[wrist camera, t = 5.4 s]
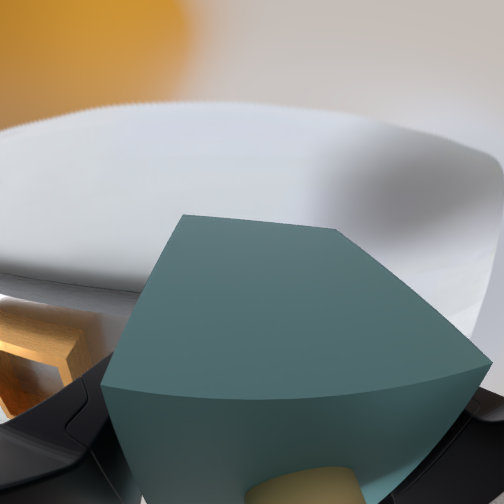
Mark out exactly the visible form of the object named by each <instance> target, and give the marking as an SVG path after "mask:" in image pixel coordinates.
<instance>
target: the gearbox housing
mask: <svg viewBox="0 0 504 504" xmlns="http://www.w3.org/2000/svg"><path fill="white" fill-rule="evenodd" d="M140 295H141V293H137V292H128V291H119V290H111V289H102V288H94V287H86V286H79V285H72V284H64V283H57V282H51V281H44V280H38V279H31V278H25V277H19V276H14V275H8V274H2V273H0V406H1V408H2V409H3V411H4V413H5V414H6V416H7V418H9V419H12V418H14V417H16V416H18V415H19V414H21V413H23V412H25V411H27V410H28V409H30V408H32V407H34V406H35V405H37V404H39V403H41V402H42V401H44V400H45V399H47V398H49V397H50V396H52V395H54V394H55V393H57V392H58V391H60V390H61V389H63V388H64V387H65V386H67V385H68V384H70V383H71V382H72V381H74V380H75V379H76V378H78V377H81V375H82V374H83V373H85V372H86V371H87V370H89V369H90V368H91V367H93V366H94V365H95V364H97V363H98V362H99V361H101V360H102V359H103V358H105V357H106V356H107V355H109V354H110V353H111V352H113V351H114V350H115V348H116V346H117V344H118V342H119V339H120V337H121V335H122V333H123V331H124V328H125V326H126V324H127V322H128V320H129V318H130V315H131V313H132V311H133V309H134V307H135V305H136V303H137V301H138V299H139V297H140Z"/></svg>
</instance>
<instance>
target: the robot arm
mask: <svg viewBox="0 0 504 504" xmlns="http://www.w3.org/2000/svg"><path fill="white" fill-rule="evenodd" d="M114 351H115V350H114ZM114 351H113V352H111V353H110V354H109V355H107V356H106V357H105V358H103V359H102V360H101V361H99V362H98V363H97V364H95V365H94V366H93V367H91V368H90V369H89V370H87V371H86V372H85V373H83V374H82V375H81V377H78V378H76V379H75V380H74V381H72V382H71V383H70V384H68V385H67V386H65V387H64V388H63V389H61V390H60V391H58V392H57V393H55V394H54V395H52V396H50V397H49V398H47V399H45V400H44V401H42V402H41V403H39V404H37V405H35V406H34V407H32V408H30V409H28V410H27V411H25V412H23V413H21V414H19V415H18V416H16V417H14V418H12V419H11V420H9V421H7V422H5V423H3V424H0V504H140V503H141V497H142V493H141V491H140V489H139V487H138V485H137V483H136V481H135V479H134V477H133V474H132V472H131V470H130V468H129V465H128V463H127V461H126V458H125V456H124V453H123V451H122V448H121V446H120V443H119V440H118V438H117V435H116V432H115V430H114V427H113V424H112V421H111V418H110V415H109V412H108V409H107V406H106V403H105V399H104V396H103V393H102V389H101V386H100V384H101V382H102V379H103V377H104V374H105V372H106V369H107V367H108V365H109V362H110V360H111V358H112V355H113V353H114ZM378 504H504V397H503V396H500V395H498V394H496V393H493V392H491V391H488V390H486V389H484V388H481V387H478V389H477V390H476V392H475V393H474V395H473V396H472V398H471V399H470V401H469V402H468V404H467V405H466V407H465V408H464V410H463V411H462V412H461V414H460V415H459V416H458V418H457V419H456V421H455V422H454V423H453V425H452V426H451V427H450V428H449V430H448V431H447V432H446V433H445V435H444V436H443V437H442V438H441V440H440V441H439V442H438V443H437V444H436V446H435V447H434V448H433V449H432V450H431V451H430V453H429V454H428V455H427V456H426V457H425V458H424V459H423V460H422V461H421V463H420V464H419V465H418V466H417V467H416V468H415V469H414V470H413V471H412V472H411V473H410V474H409V475H408V476H407V477H406V478H405V479H404V480H403V481H402V482H401V483H400V484H399V485H398V486H397V487H396V488H395V489H393V490H392V491H391V492H390V493H389V494H388V495H387V496H386V497H385V498H383V499H382V500H381V501H380V502H379V503H378Z"/></svg>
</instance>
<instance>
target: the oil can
mask: <svg viewBox="0 0 504 504" xmlns="http://www.w3.org/2000/svg"><path fill="white" fill-rule="evenodd" d="M492 363H493V362H492V361H491V360H490V359H489V358H488V357H487V356H486V355H484V354H483V353H482V352H481V351H480V350H479V349H478V348H477V347H476V346H475V345H474V344H473V343H472V342H471V341H470V340H469V339H468V338H467V337H466V336H464V335H463V334H462V333H461V332H460V331H459V330H458V329H457V328H456V327H455V326H454V325H452V324H451V323H450V322H449V321H448V320H447V319H446V318H445V317H444V316H442V315H441V314H440V313H439V312H438V311H437V310H436V309H434V308H433V307H432V306H431V305H430V304H429V303H428V302H426V301H425V300H424V299H423V298H422V297H420V296H419V295H418V294H417V293H416V292H415V291H413V290H412V289H411V288H410V287H409V286H407V285H406V284H405V283H404V282H403V281H401V280H400V279H399V278H398V277H396V276H395V275H394V274H393V273H392V272H390V271H389V270H388V269H387V268H385V267H384V266H383V265H382V264H380V263H379V262H378V261H376V260H375V259H374V258H373V257H371V256H370V255H369V254H368V253H366V252H365V251H364V250H362V249H361V248H360V247H358V246H357V245H356V244H355V243H353V242H352V241H351V240H349V239H348V238H347V237H345V236H344V235H343V234H341V233H340V232H339V231H337V230H336V229H328V228H320V227H311V226H302V225H292V224H283V223H273V222H263V221H252V220H242V219H230V218H219V217H207V216H195V215H182V217H181V219H180V221H179V222H178V224H177V226H176V228H175V230H174V231H173V233H172V235H171V237H170V239H169V240H168V242H167V244H166V246H165V248H164V250H163V252H162V253H161V255H160V257H159V259H158V261H157V263H156V265H155V267H154V269H153V271H152V273H151V275H150V277H149V279H148V281H147V283H146V285H145V287H144V289H143V291H142V293H141V295H140V297H139V299H138V301H137V303H136V305H135V307H134V309H133V311H132V313H131V315H130V318H129V320H128V322H127V324H126V326H125V328H124V331H123V333H122V335H121V337H120V339H119V342H118V344H117V346H116V348H115V351H114V353H113V355H112V358H111V360H110V362H109V365H108V367H107V369H106V372H105V374H104V377H103V379H102V382H101V384H100V386H101V389H102V393H103V396H104V399H105V403H106V406H107V409H108V412H109V415H110V418H111V421H112V424H113V427H114V430H115V432H116V435H117V438H118V440H119V443H120V446H121V448H122V451H123V453H124V456H125V458H126V461H127V463H128V465H129V468H130V470H131V472H132V474H133V477H134V479H135V481H136V483H137V485H138V487H139V489H140V491H141V493H142V495H143V497H144V499H145V501H146V503H147V504H378V503H379V502H380V501H381V500H382V499H383V498H385V497H386V496H387V495H388V494H389V493H390V492H391V491H392V490H393V489H395V488H396V487H397V486H398V485H399V484H400V483H401V482H402V481H403V480H404V479H405V478H406V477H407V476H408V475H409V474H410V473H411V472H412V471H413V470H414V469H415V468H416V467H417V466H418V465H419V464H420V463H421V461H422V460H423V459H424V458H425V457H426V456H427V455H428V454H429V453H430V451H431V450H432V449H433V448H434V447H435V446H436V444H437V443H438V442H439V441H440V440H441V438H442V437H443V436H444V435H445V433H446V432H447V431H448V430H449V428H450V427H451V426H452V425H453V423H454V422H455V421H456V419H457V418H458V416H459V415H460V414H461V412H462V411H463V410H464V408H465V407H466V405H467V404H468V402H469V401H470V399H471V398H472V396H473V395H474V393H475V392H476V390H477V389H478V387H479V385H480V384H481V382H482V381H483V379H484V377H485V375H486V374H487V372H488V370H489V369H490V367H491V365H492Z"/></svg>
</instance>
